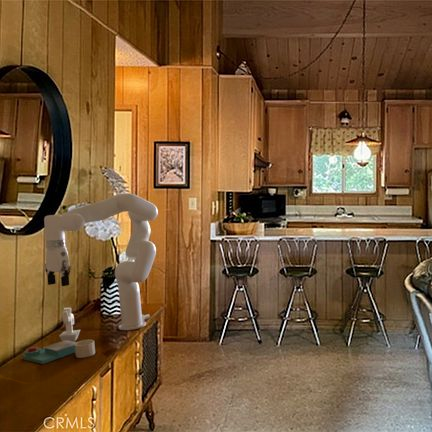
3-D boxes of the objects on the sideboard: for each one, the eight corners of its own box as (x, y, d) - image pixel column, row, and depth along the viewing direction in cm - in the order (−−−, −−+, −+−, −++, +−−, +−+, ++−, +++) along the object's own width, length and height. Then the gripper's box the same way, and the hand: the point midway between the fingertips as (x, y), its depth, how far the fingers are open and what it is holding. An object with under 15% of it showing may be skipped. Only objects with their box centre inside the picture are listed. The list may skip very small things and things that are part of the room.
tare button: (34, 349, 201) (34, 345, 201) (39, 350, 199) (38, 346, 199) (26, 352, 198) (26, 348, 198) (31, 353, 196) (30, 349, 196)
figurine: (81, 336, 224) (78, 304, 223) (76, 343, 214) (72, 309, 213) (65, 338, 222) (61, 306, 221) (58, 345, 213) (55, 311, 212)
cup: (88, 350, 203) (86, 338, 202) (99, 352, 199) (97, 340, 198) (72, 356, 197) (70, 344, 196) (83, 358, 193) (81, 346, 192)
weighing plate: (66, 348, 208) (65, 339, 208) (80, 351, 203) (79, 342, 203) (43, 355, 200) (42, 347, 200) (57, 359, 195) (56, 350, 194)
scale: (59, 346, 211) (58, 339, 211) (79, 350, 203) (78, 343, 203) (22, 359, 198) (21, 351, 198) (42, 364, 190) (41, 356, 190)
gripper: (76, 243, 203) (79, 284, 204) (52, 243, 213) (55, 282, 213) (59, 245, 197) (62, 287, 198) (35, 245, 206) (38, 285, 207)
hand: (58, 285), depth 206 cm, fingers open, 9 cm apart
